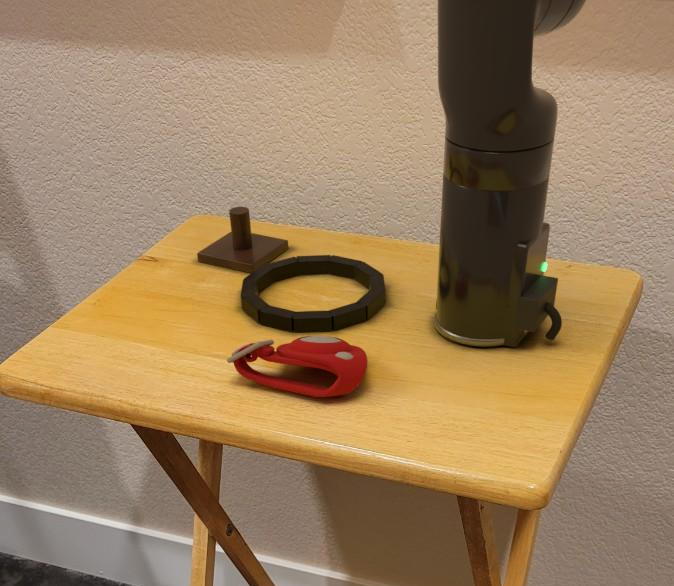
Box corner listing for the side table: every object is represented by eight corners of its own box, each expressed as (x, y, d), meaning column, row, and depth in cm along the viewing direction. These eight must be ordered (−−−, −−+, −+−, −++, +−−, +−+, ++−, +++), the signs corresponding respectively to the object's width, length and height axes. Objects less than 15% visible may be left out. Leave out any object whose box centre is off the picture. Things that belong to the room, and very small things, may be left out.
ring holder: (288, 248, 102) (285, 204, 98) (253, 273, 97) (248, 227, 93) (235, 237, 104) (230, 193, 101) (197, 261, 100) (191, 216, 96)
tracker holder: (333, 328, 85) (394, 344, 77) (332, 374, 87) (390, 394, 79) (218, 333, 79) (272, 351, 71) (219, 383, 81) (271, 406, 73)
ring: (408, 283, 94) (408, 270, 93) (341, 344, 85) (340, 329, 84) (290, 259, 99) (289, 246, 98) (215, 313, 90) (213, 299, 89)
